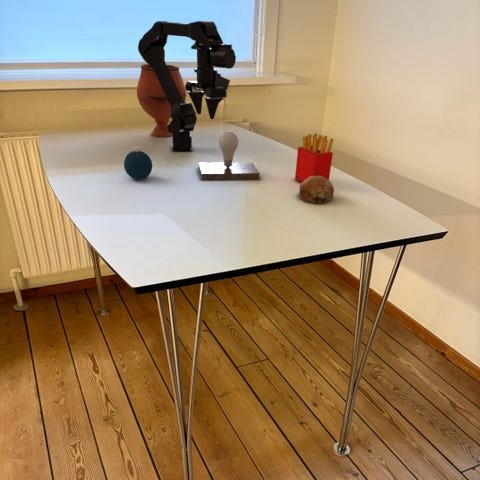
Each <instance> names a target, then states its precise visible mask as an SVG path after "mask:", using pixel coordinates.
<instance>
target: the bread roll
mask: <svg viewBox="0 0 480 480" xmlns="http://www.w3.org/2000/svg"><path fill="white" fill-rule="evenodd" d="M298 192H299V193H298V195H299V199H300V200H301V201H303V202H306V203H310V204H318V205H319V204H320V205H321V204H326V203H328V202H330V201H331V200H332V199H333V197H334V194H335V191H334V185H333V183H332V182H331V181H330V179H329V180H328V179H326V178H324V177H322V176H309V177H308V179H306V180H305V181H304V182H302V183H301V182H300V185H299V191H298Z"/></svg>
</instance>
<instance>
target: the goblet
mask: <svg viewBox="0 0 480 480" xmlns="http://www.w3.org/2000/svg"><path fill="white" fill-rule="evenodd" d="M166 65H167V67H168V69H169V71H170V73H171V75H172V77H173V80H174V82H175V84H176V86H177V88H178V90H179V92H180V94H181V96H182V99H183V100H184V101H185V102H186V100H187V90H186V89H185V82H184V80H183V77H182V75H181V71H180V67H179V66H175V65H173V64H166ZM136 97H137V100H138V103H139V105H140V107H141V108H142V110H143V111H144V112H145V113H146V114H147V115H148V116H149V117H151V118H153V119H154V123H155V124H156V125H155V127H154V128H153V130H152V132H151V134H152V135H153V136H155V137H172V133H169V132H168V129H167V126H168V125H169V123H170V119H172V118H171V106H170V104H169V102H168V100H167V97H166V95H165V93H164V91H163V89H162V87H161V85H160V83H159V81H158V79H157V77H156V74H155V72H154V70H153V68H152V67H151V66H150V65H149V64H148V63H144V64H141V65H140V74H139V78H138V82H137V86H136Z"/></svg>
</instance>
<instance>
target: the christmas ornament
mask: <svg viewBox="0 0 480 480" xmlns="http://www.w3.org/2000/svg"><path fill="white" fill-rule="evenodd" d="M123 168H124V171H125V173H126V174H127V175H128V176H129V177H130V178H131V179H134V180H137V181H139V180H144V179H146V178H148V177H149V176H150V175H151V173H152V170H153V161H152V159H151V157H150V156H149V155H148V154H147V152H145V151H143V150H141V147H140V146H134V147H133V150H132V151H129V152H128V153H127V154H126V156H125V157H124V160H123Z"/></svg>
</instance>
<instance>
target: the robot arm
mask: <svg viewBox="0 0 480 480" xmlns="http://www.w3.org/2000/svg"><path fill="white" fill-rule="evenodd" d="M168 36H174V37H185V38H189V39H190V40H192V41H194V43H193V44H192V45H191V46H190V49H191V50H195V51H196V53H195V55H196V68H193V70H194V71H193V72H194V73H196V80H187V81H186V83H184V85H185V89H186V94H188V96H189V98H190V100H191V102H186V100H185V101H184V100H183V99H182V96H181V94H180V92H179V90H178V88H177V86H176V84H175V82H174V80H173V77H172V75H171V73H170V71H169V69H168V67H167V65H168V64H167V62H166V51H165V47H166V45H167V43H168ZM137 50H138V53H139V55H140V56H141V58H142V59H143V61H144V62H145V64H149V65H150V66H151V67H152V68H153V70H154V72H155V74H156V77H157V79H158V81H159V83H160V85H161V87H162V89H163V91H164V93H165V95H166V97H167V100H168V102H169V104H170V106H171V118H170V119H171V121H169V123H168V126H167V129H168V132H169V133H172V136H171V138H172V145H171V148H172V152H192V149H193V138H192V137H193V136H192V135H191V132H194V129H195V127H196V124H197V120H198V117H197V115H201V114H202V110H203V109H202V107H203V98H204V100H205V104H206V107H207V112H208V115H209V119H210V120H215V116H216V113H217V110H218V106H219V104H220V102H222V101H223V100H225V98H227V96H228V92H227V91H228V89H229V86H230V83H231V80H230V79H229V78H226V77H224V76H222V73H218V70H217V69H215V68H221V69H228V70H229V69H233V68H234V66H235V65H236V61H237V56H236V52H235V50H234V49H233V44H232V43H224V41H223V39H222V37H221V34H220V33H219V31H218V28H217V25H216V23H215V22H214V21H212V20H196V21H191V22H189V23H185V22H184V23H183V22H173V21H172V22H171V21H167V20H157V21H155V22H154V23H153V25H152V26H151V28H149V30H147V31H146V32H145V33H144V34H143V36H141V38H140V40H139V41H138V45H137Z"/></svg>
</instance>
